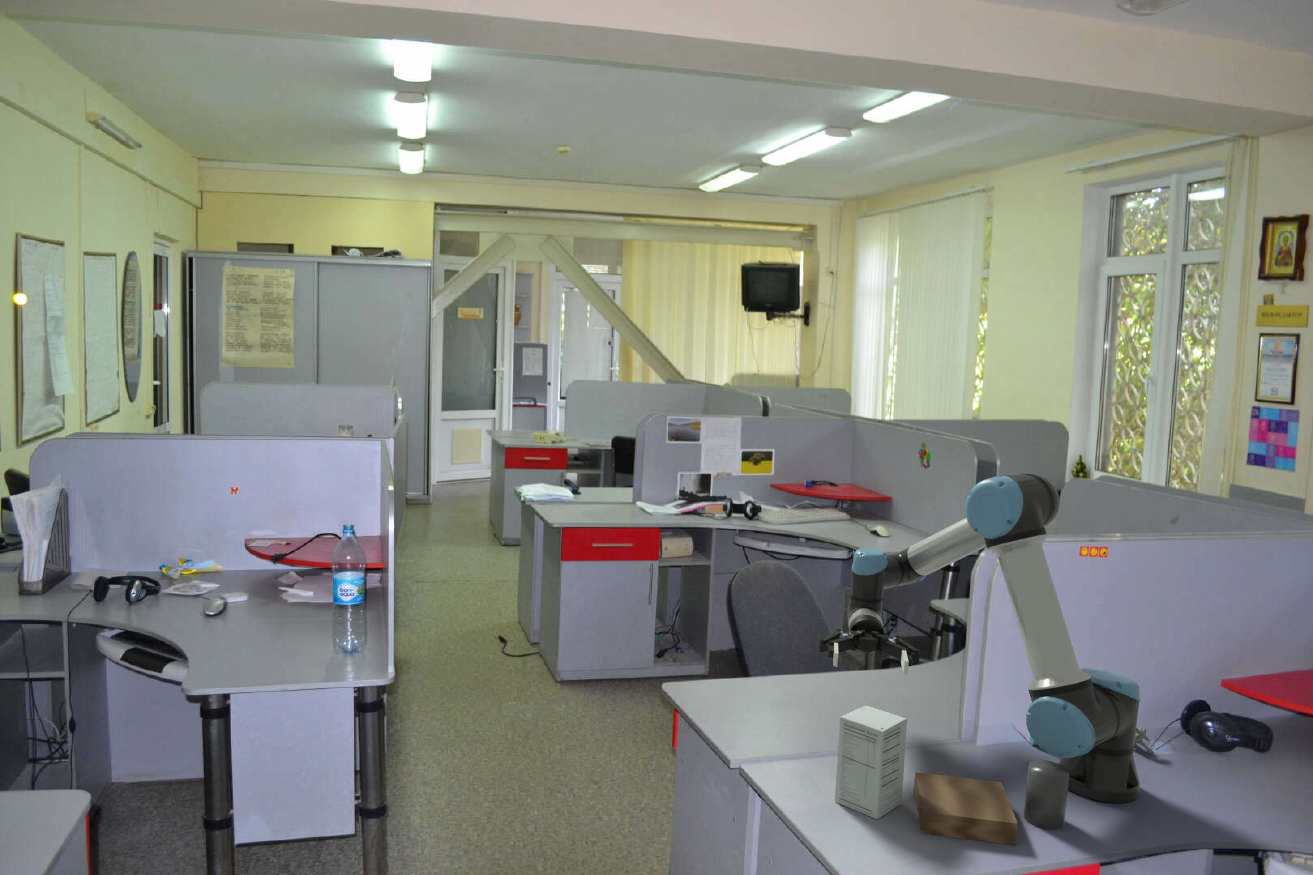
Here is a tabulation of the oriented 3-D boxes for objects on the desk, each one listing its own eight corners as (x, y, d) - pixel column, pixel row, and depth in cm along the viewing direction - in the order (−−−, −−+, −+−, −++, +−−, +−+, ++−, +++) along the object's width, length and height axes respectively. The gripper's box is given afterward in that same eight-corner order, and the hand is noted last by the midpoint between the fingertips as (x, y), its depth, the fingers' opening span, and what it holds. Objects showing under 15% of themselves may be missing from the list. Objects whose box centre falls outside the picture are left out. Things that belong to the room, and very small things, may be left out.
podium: (999, 802, 187) (1001, 782, 186) (1015, 845, 171) (1017, 823, 170) (913, 791, 189) (915, 771, 189) (921, 832, 174) (923, 811, 173)
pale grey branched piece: (1150, 743, 219) (1167, 745, 210) (1132, 762, 218) (1149, 765, 209) (1115, 709, 221) (1131, 710, 213) (1097, 728, 221) (1112, 729, 212)
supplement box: (902, 804, 184) (910, 718, 182) (877, 820, 177) (884, 731, 175) (858, 786, 190) (865, 703, 188) (832, 801, 184) (839, 715, 182)
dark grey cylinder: (1059, 813, 183) (1064, 762, 182) (1068, 831, 177) (1073, 779, 175) (1020, 808, 185) (1025, 758, 183) (1027, 826, 178) (1033, 774, 177)
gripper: (923, 653, 212) (933, 689, 191) (807, 640, 216) (805, 674, 195) (926, 620, 211) (937, 652, 190) (810, 608, 215) (808, 638, 194)
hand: (870, 663), depth 193 cm, fingers open, 13 cm apart
